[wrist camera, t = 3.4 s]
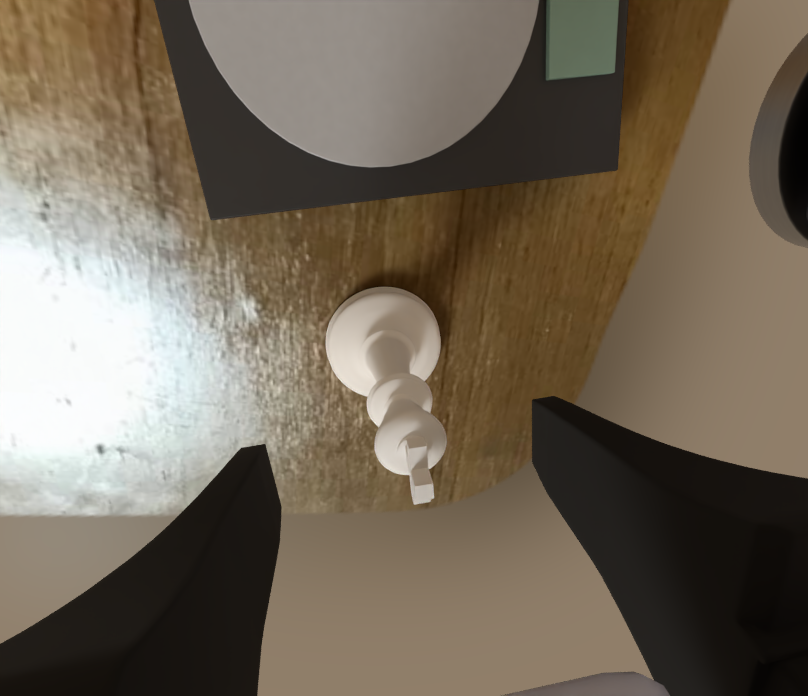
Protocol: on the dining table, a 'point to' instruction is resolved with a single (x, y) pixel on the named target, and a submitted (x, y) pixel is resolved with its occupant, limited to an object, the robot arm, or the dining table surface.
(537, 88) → the scale
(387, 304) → the chess piece
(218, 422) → the dining table surface
